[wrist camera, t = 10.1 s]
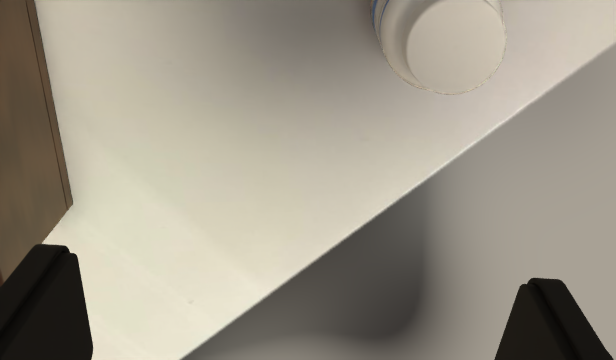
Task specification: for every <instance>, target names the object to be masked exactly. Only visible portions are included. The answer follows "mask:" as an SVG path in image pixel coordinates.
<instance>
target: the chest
mask: <svg viewBox="0 0 616 360" xmlns="http://www.w3.org/2000/svg"><path fill="white" fill-rule="evenodd" d="M72 205H73V202H72V197H71V192H70V186H69V181H68V176H67V171H66V166H65V160H64V155H63V150H62V145H61V140H60V134H59V129H58V124H57V119H56V114H55V108H54V103H53V98H52V93H51V88H50V82H49V77H48V72H47V67H46V62H45V56H44V51H43V46H42V41H41V36H40V30H39V25H38V20H37V15H36V10H35V5H34V0H0V287H1V286H2V285H3V283H4V282H5V281H6V280H7V278H8V277H9V276H10V275H11V273H12V272H13V271H14V270H15V268H16V267H17V266H18V265H19V264H20V262H21V261H22V260H23V259H24V257H25V256H26V255H27V254H28V252H29V251H30V250H31V249H32V247H34V246H35V245H37V244H41V243H42V242H43V241H44V240H45V238H46V237H47V236H48V235H49V233H50V232H51V231H52V230H53V228H54V227H55V226H56V225H57V223H58V222H59V221H60V220H61V218H62V217H63V216H64V214H65V213H66V212H67V211H68V210H69V208H70V207H71V206H72Z"/></svg>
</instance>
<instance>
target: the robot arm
mask: <svg viewBox="0 0 616 360" xmlns="http://www.w3.org/2000/svg"><path fill="white" fill-rule="evenodd" d="M92 354H93V343H92V337H91V331H90V326H89V320H88V314H87V309H86V303H85V297H84V291H83V286H82V280H81V274H80V269H79V263H78V258H77V255H76V254H74V253H70V251H69V249H68V248H67V247H66V246H62V245H47V244H37V245H35V246H34V247H32V249H31V250H30V251H29V252H28V254H27V255H26V256H25V257H24V259H23V260H22V261H21V262H20V264H19V265H18V266H17V267H16V268H15V270H14V271H13V272H12V273H11V275H10V276H9V277H8V278H7V280H6V281H5V282H4V283H3V285H2V286H1V287H0V360H91V358H92ZM495 360H613V358H612V356H611V355H610V354H609V353H608V351H607V350H606V349H605V347H604V346H603V344H602V343H601V341H600V339H599V338H598V336H597V335H596V333H595V331H594V330H593V328H592V327H591V325H590V323H589V322H588V321H587V319H586V317H585V316H584V314H583V312H582V311H581V309H580V308H579V306H578V305H577V303H576V301H575V300H574V298H573V297H572V295H571V293H570V292H569V290H568V289H567V287H566V285H565V284H564V283H563V282H562V281H561V280H558V279H543V278H531V279H530V280H529V281H528V283H527V284H522V285H521V286H520V288H519V290H518V293H517V296H516V299H515V302H514V304H513V307H512V311H511V313H510V316H509V319H508V322H507V325H506V328H505V330H504V334H503V336H502V339H501V342H500V345H499V348H498V351H497V354H496V357H495Z"/></svg>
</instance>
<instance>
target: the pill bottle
mask: <svg viewBox="0 0 616 360" xmlns="http://www.w3.org/2000/svg"><path fill="white" fill-rule="evenodd" d="M371 19H372V24H373V27H374V30H375V32H376V35H377V37H378V40H379V42H380V45H381V47H382V50H383V52H384V55H385V57H386V59H387V61H388V63H389V65H390V66H391V68H392V69H393V70H394V72H395V73H396V74H397V75H398V76H399V77H400V78H402V79H403V80H404V81H406V82H407V83H409V84H411V85H413V86H415V87H417V88H421V89H425V90H431V91H433V92H436V93H440V94H446V95H454V94H461V93H465V92H468V91H471V90H473V89H475V88H477V87H478V86H480V85H482V84H483V83H484V82H486V81H487V80H488V79H489V78H490V77H491V76H492V75H493V74H494V72H495V71H496V70H497V68H498V67H499V65H500V63H501V61H502V59H503V56H504V53H505V50H506V44H507V34H506V28H505V24H504V21H503V11H502V7H501V4H500V1H499V0H372V1H371Z"/></svg>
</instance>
